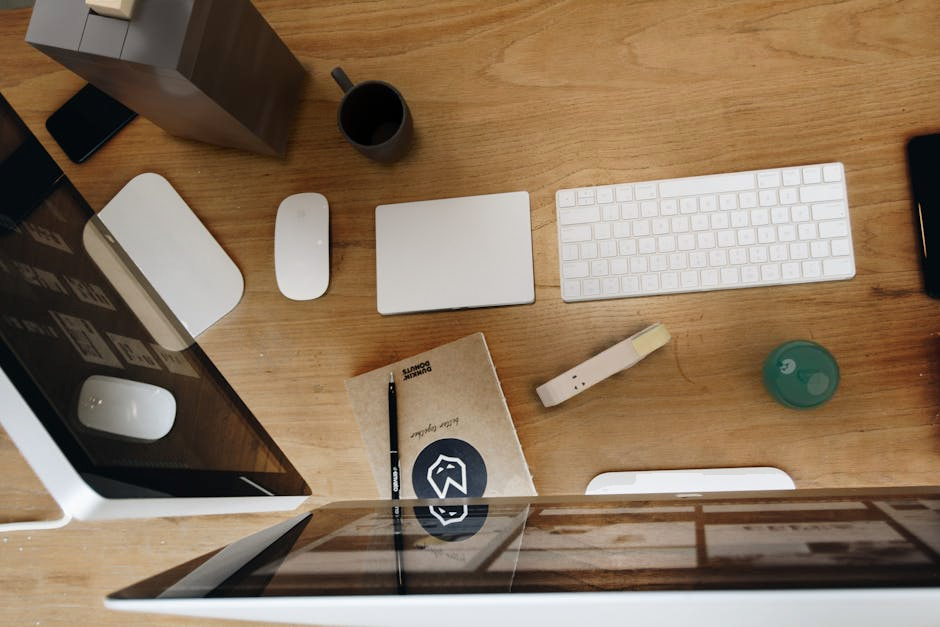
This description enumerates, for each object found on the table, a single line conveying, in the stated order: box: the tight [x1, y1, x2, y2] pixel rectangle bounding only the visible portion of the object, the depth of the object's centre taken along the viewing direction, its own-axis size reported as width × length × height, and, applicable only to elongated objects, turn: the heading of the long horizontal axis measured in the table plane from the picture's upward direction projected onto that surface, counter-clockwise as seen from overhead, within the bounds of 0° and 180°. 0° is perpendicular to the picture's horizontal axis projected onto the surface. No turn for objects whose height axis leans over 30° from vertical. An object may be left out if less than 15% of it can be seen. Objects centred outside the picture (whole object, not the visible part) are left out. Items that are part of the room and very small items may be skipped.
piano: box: [24, 0, 307, 159], centre depth 79 cm, size 16×12×26 cm
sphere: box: [760, 338, 842, 413], centre depth 76 cm, size 8×8×8 cm
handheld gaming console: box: [535, 322, 672, 408], centre depth 79 cm, size 11×3×15 cm
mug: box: [330, 66, 415, 164], centre depth 84 cm, size 8×12×10 cm
